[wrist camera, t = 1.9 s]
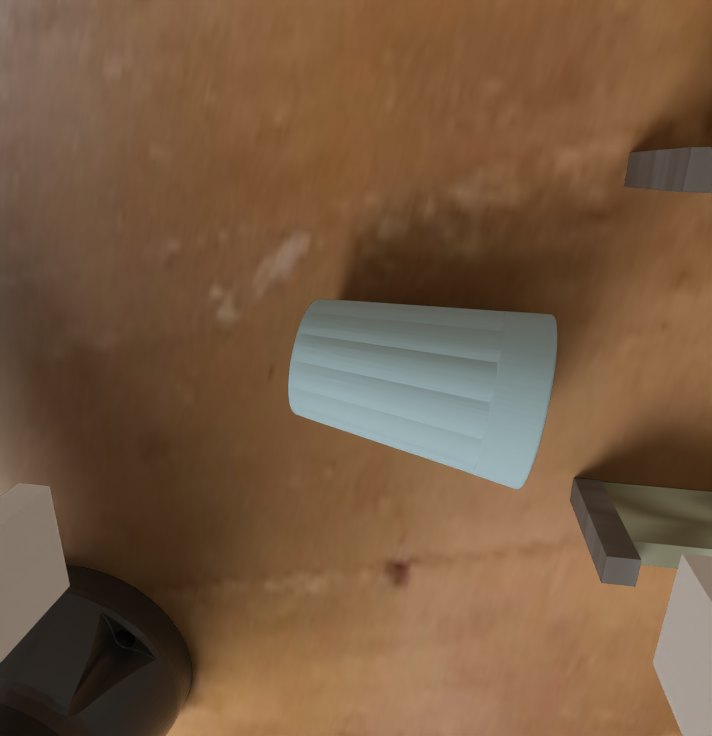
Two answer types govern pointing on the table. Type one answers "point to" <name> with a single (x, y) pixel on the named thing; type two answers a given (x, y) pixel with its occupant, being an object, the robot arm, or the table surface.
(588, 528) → the bay
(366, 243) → the table surface
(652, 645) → the table surface
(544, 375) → the cup
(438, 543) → the table surface
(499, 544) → the table surface
